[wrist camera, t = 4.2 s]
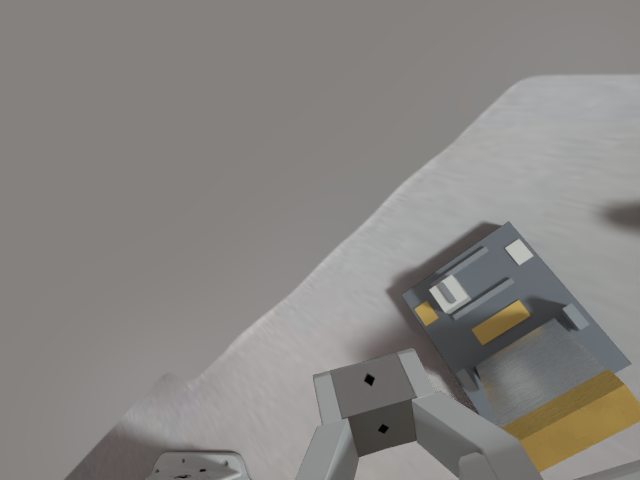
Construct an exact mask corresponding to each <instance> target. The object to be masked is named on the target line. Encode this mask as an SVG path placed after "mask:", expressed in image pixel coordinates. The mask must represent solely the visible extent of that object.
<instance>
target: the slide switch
mask: <svg viewBox="0 0 640 480" xmlns="http://www.w3.org/2000/svg"><path fill="white" fill-rule="evenodd" d="M429 291H430V292H431V293H432V295H433V296H434V298H435V299H436V301H437V302H438V303H439V305H440V306H441V308H442V309H443V311H444V312H445V313H448V314H451V313H452V312H454V311H455V310H457V309H458V308H460V307H461V306H463V305H464V304H466V303H467V302H469V301H470V300H472V299H471V298H470V296H469V295H468V294H467V292H466V291H465V289H464V288H463V287H462V285H461V284H460V283H459V281H458V280H457V279H456V278H455V277H454V276H453V275H452V274H451V275H450V276H449V277H447V278H446V279H444V280H443V281H441V282H440V283H438V284H437V285H435V286H434V287H432V288H431V289H429Z"/></svg>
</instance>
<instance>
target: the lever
mask: <svg viewBox="0 0 640 480" xmlns="http://www.w3.org/2000/svg"><path fill="white" fill-rule="evenodd" d="M570 331H571V330H570V329H569V327H568V326H567V325H566V324H565V322H564V321H563V320H562V319H561V318H560V317H559V316H557V317H555V318H553V319H552V320H550V321H548V322H547V323H545V324H543V325H542V326H540V327H538V328H537V329H535V330H533V331H532V332H530V333H529V334H527V335H525V336H524V337H522V338H520V339H519V340H517V341H515V342H514V343H512V344H510V345H509V346H507V347H505V348H504V349H502V350H500V351H499V352H497V353H496V354H494V355H492V356H491V357H489V358H487V359H486V360H484V361H482V362H481V363H479V364H477V365H476V366H474V367H473V370H474V372H475V374H476V375H477V377H478V378H479V379H480V381H481V383H482V386H483V388H484V391H485V394H486V397H487V400H488V403H489V406H490V409H491V412H492V415H493V418H494V421H495V423H496V426H498V427H499V428H501V429H502V430H504V431H506V432H507V433H509V434H511V435H512V436H514V437H515V438H517V439H518V440H519V442H520V443H521V445H522V446H523V448H524V450H525V451H526V453H527V454H528V456H529V458H530V459H531V461H532V462H533V464H534V466H535V467H536V469H537V470H538V472H541V471H543V470H545V469H547V468H549V467H551V466H553V465H555V464H557V463H559V462H561V461H563V460H565V459H567V458H569V457H571V456H573V455H574V454H576V453H578V452H580V451H582V450H584V449H586V448H588V447H590V446H592V445H594V444H596V443H598V442H600V441H602V440H604V439H606V438H608V437H610V436H612V435H614V434H616V433H618V432H620V431H622V430H624V429H626V428H627V427H629V426H631V425H633V424H635V423H637V422H639V421H640V403H639V402H638V401H637V399H636V398H635V397H634V396H633V394H632V393H631V392H630V390H629V389H628V388H627V387H626V385H625V384H624V383H623V382H622V381H621V380H620V379H619V378H618V377H617V376H616V375H614V374H613V373H612V372H611V371H610V370H609V369H606V368H605V367H604V366H603V365H602V364H601V363H600V362H599V361H598V360H597V359H596V358H595V357H594V356H593V355H592V354H591V353H589V352H588V351H587V350H586V349H585V348H584V347H583V346H582V345H581V344H580V343H579V342H578V341H577V340H576V339H575V338H574V337H573V336H572V335H571V334H570V333H569V332H570Z"/></svg>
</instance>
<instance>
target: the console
mask: <svg viewBox="0 0 640 480" xmlns="http://www.w3.org/2000/svg"><path fill="white" fill-rule="evenodd" d="M451 274H452V275H453V276H454V277H455V278H456V279H457V280H458V281H459V283H460V284H461V285H462V287H463V288H464V289H465V291H466V292H467V294H468V295H469V296H470V298H471V299H472V300H470V301H469V302H467V303H466V304H464V305H463V306H461V307H460V308H458V309H457V310H455V311H454V312H452V313H451V314H448V313H445V312H444V311H443V309H442V308H441V306H440V305H439V303H438V302H437V301H436V299H435V298H434V296H433V295H432V293H431V292H430V291H429V289H431V288H432V287H434V286H435V285H437V284H438V283H440V282H441V281H443V280H444V279H446V278H447V277H449V276H450V275H451ZM402 297H403V298H404V300H405V301H406V303H407V304H408V306H409V307H410V309H411V310H412V312H413V313H414V315H415V316H416V318H417V319H418V321H419V323H420V324H421V326H422V327H423V329H424V330H425V332H426V333H427V335H428V336H429V338H430V339H431V341H432V342H433V344H434V345H435V347H436V348H437V350H438V351H439V353H440V355H441V356H442V358H443V359H444V361H445V362H446V364H447V365H448V367H449V368H450V370H451V371H452V373H453V374H454V376H455V377H456V379H457V380H458V382H459V384H460V385H461V387H462V388H463V390H464V391H465V393H466V394H467V396H468V397H469V399H470V400H471V402H472V403H473V405H474V406H475V408H476V409H477V411H478V413H479V414H480V416H482V417H483V418H485V419H486V420H488V421H490V422H491V423H493V424H494V425H496V423H495V421H494V418H493V415H492V412H491V409H490V406H489V403H488V400H487V397H486V394H485V391H484V388H483V386H482V383H481V381H480V379H479V378H478V377H477V375H476V374H475V372H474V370H473V367H474V366H476V365H477V364H479V363H481V362H482V361H484V360H486V359H487V358H489V357H491V356H492V355H494V354H496V353H497V352H499V351H500V350H502V349H504V348H505V347H507V346H509V345H510V344H512V343H514V342H515V341H517V340H519V339H520V338H522V337H524V336H525V335H527V334H529V333H530V332H532V331H533V330H535V329H537V328H538V327H540V326H542V325H543V324H545V323H547V322H548V321H550V320H552V319H553V318H555V317H557V316H559V317H560V318H561V319H562V320H563V321H564V322H565V324H566V325H567V326H568V327H569V329H570V330H571V331H570V332H569V333H570V334H571V335H572V336H573V337H574V338H575V339H576V340H577V341H578V342H579V343H580V344H581V345H582V346H583V347H584V348H585V349H586V350H587V351H588V352H589V353H591V354H592V355H593V356H594V357H595V358H596V359H597V360H598V361H599V362H600V363H601V364H602V365H603V366H604V367H605V368H606V369H609V370H610V371H611V372H612V373H613V374H614V373H616V372H618V371H620V370H621V369H623V368H625V367H627V366H629V365H631V362H630V361H629V360H628V359H627V358H626V357H625V356H624V354H623V353H622V352H621V351H620V350H619V349H618V347H617V346H616V345H615V344H614V343H613V342H612V340H611V339H610V338H609V337H608V336H607V335H606V333H605V332H604V331H603V330H602V329H601V328H600V327H599V325H598V324H597V323H596V322H595V321H594V320H593V318H592V317H591V316H590V315H589V314H588V313H587V311H586V310H585V309H584V308H583V307H582V306H581V304H580V303H579V302H578V301H577V300H576V299H575V298H574V296H573V295H572V294H571V293H570V292H569V291H568V289H567V288H566V287H565V286H564V285H563V284H562V282H561V281H560V280H559V279H558V278H557V277H556V275H555V274H554V273H553V272H552V271H551V270H550V269H549V267H548V266H547V265H546V264H545V263H544V262H543V260H542V259H541V258H540V257H539V256H538V255H537V253H536V252H535V251H534V250H533V249H532V248H531V246H530V245H529V244H528V243H527V242H526V241H525V240H524V238H523V237H522V236H521V235H520V234H519V233H518V231H517V230H516V229H515V228H514V227H513V226H512V224H511V223H510V222H509V221H508V222H507V223H505V224H504V225H503V226H501V227H500V228H498V229H497V230H495V231H494V232H492V233H491V234H489V235H488V236H487V237H485V238H484V239H482V240H481V241H479V242H478V243H476V244H475V245H474V246H472V247H471V248H469V249H468V250H466V251H465V252H463V253H462V254H460V255H459V256H458V257H456V258H455V259H453V260H452V261H450V262H449V263H447V264H446V265H445V266H443V267H442V268H440V269H439V270H437V271H436V272H434V273H433V274H431V275H430V276H429V277H427V278H426V279H424V280H423V281H421V282H420V283H418V284H417V285H416V286H414V287H413V288H411V289H410V290H408V291H407V292H405V293H404V294H403V295H402Z"/></svg>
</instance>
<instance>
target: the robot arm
mask: <svg viewBox="0 0 640 480" xmlns="http://www.w3.org/2000/svg"><path fill="white" fill-rule="evenodd" d="M330 371H331V373H330ZM330 371H327V372H323V373H319V374H315V375H313V381H314V387H315V392H316V397H317V402H318V407H319V412H320V417H321V422H322V425H321V426H317V428H316V431H315V433H314V436H313V438H312V440H311V443H310V445H309V448H308V450H307V452H306V455H305V457H304V460H303V462H302V464H301V467H300V469H299V472H298V474H297V476H296V479H295V480H354V477H355V473H356V469H357V465H358V461H359V457H362V456H365V455H368V454H371V453H374V452H377V451H380V450H383V449H387V448H390V447H394V446H398V445H402V444H406V443H410V442H414V441H417V443H419V444H420V445H421V446H422V447H423V448H424V449H425V450H427V451H428V452H429V453H430V454H431V455H432V456H434V457H435V458H436V459H437V460H438V461H439V462H440V463H442V464H443V465H444V466H445V467H446V468H447V469H448V470H450V471H451V472H452V473H453V474H454V475H455V476H457V477H458V478H459V480H543V478H542V477H541V475H540V474H539V472H538V470H537V469H536V467H535V466H534V464H533V462H532V461H531V459H530V458H529V456H528V454H527V453H526V451H525V450H524V448H523V446H522V445H521V443H520V442H519V440H518V439H517V438H515V437H514V436H512V435H511V434H509V433H507V432H506V431H504V430H502V429H501V428H499V427H498V426H496V425H494V424H493V423H491V422H490V421H488V420H486V419H485V418H483V417H482V416H480V415H478V414H477V413H475V412H474V411H472V410H470V409H469V408H467V407H466V406H464V405H462V404H461V403H459V402H458V401H456V400H454V399H453V398H451V397H450V396H448V395H446V394H445V393H443V392H442V391H440V392H436V391H435V389H434V387H433V385H432V383H431V381H430V379H429V377H428V375H427V373H426V371H425V369H424V367H423V365H422V363H421V361H420V359H419V357H418V355H417V353H416V351H415V350H414V349H413V348H409V349H406V350H402V351H398V352H396V353H395V352H394V353H391V354H387V355H384V356H380V357H377V358H374V359H370V360H367V361H363V362H362V363H358V364H354V365H350V366H346V367H342V368H338V369H334V370H330ZM226 461H227V462H228V465H227V463H226ZM144 480H250V478H249V477H248V475H247V472H246V469H245V466H244V463H243V460H242V458H241V456H240V455H239V454H237V453H217V452H166V453H163V454H162V455H161V456H160V457H159V458H158V460H157V462H156V463H155V466H154V468H153V470H152V473H151V475H150V476H148V477H147V478H145V479H144ZM574 480H640V460H638V461H634V462H631V463H628V464H624V465H621V466H618V467H614V468H611V469H608V470H604V471H601V472H598V473H594V474H591V475H588V476H584V477H581V478H578V479H574Z"/></svg>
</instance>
